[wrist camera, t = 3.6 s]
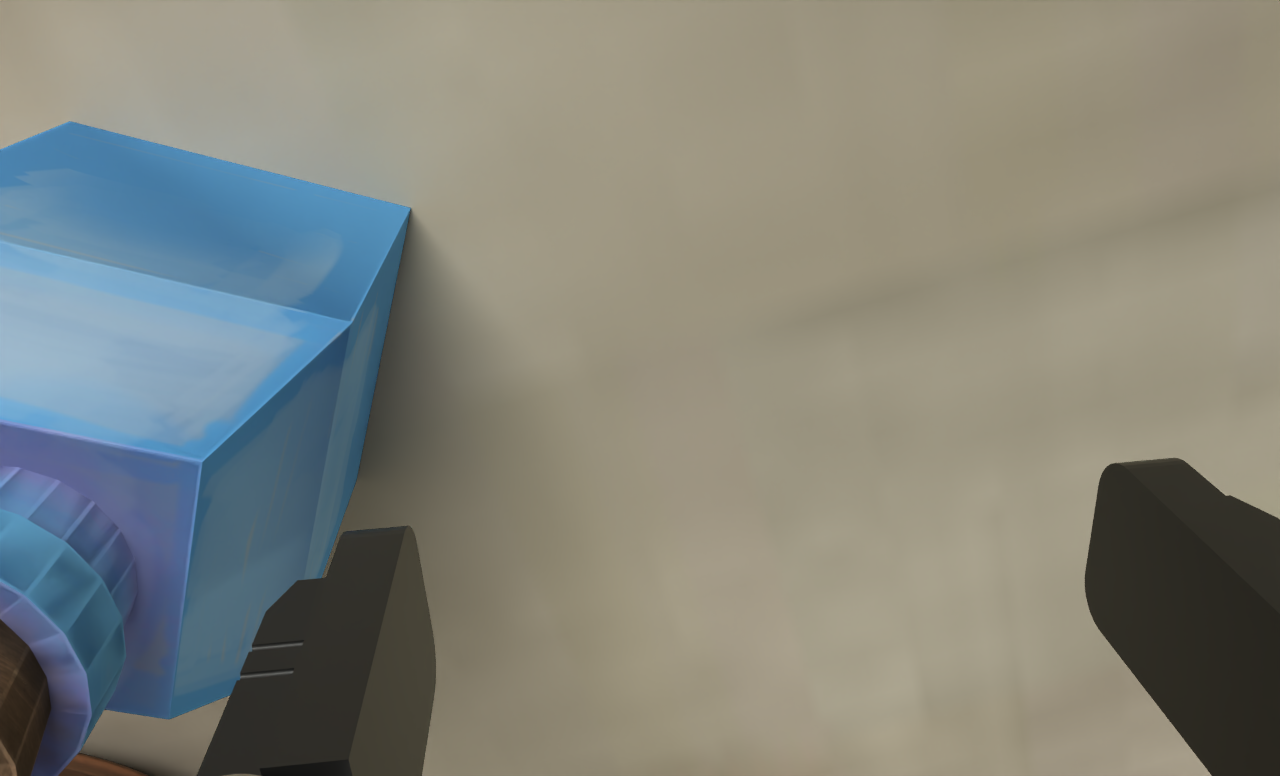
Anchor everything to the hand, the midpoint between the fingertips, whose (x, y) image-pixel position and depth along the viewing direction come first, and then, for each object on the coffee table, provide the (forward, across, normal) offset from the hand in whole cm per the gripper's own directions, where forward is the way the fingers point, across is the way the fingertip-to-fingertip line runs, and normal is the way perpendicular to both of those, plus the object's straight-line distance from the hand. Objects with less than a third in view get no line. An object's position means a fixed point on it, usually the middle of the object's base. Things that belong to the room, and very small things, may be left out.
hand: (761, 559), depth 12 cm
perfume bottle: (+10, +9, 0) cm, 13 cm away
